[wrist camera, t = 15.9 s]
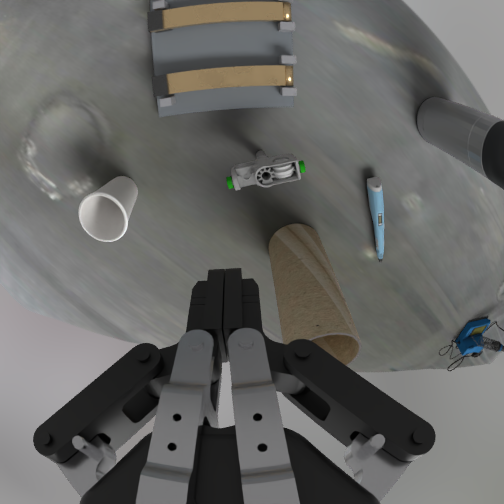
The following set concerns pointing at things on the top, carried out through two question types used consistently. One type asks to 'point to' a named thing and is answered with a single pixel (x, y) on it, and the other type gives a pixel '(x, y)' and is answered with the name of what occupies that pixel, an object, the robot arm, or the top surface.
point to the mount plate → (222, 59)
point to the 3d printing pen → (377, 212)
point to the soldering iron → (475, 340)
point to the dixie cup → (108, 209)
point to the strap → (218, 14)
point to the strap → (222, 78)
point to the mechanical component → (266, 171)
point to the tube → (310, 294)
